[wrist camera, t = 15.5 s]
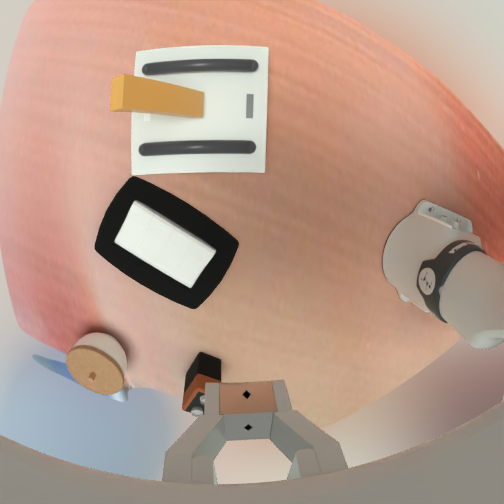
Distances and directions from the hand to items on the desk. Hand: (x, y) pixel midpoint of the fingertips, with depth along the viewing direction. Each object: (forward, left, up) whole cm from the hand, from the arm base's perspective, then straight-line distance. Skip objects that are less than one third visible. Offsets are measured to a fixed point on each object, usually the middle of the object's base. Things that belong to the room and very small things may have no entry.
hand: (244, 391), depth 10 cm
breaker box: (+4, -14, -31) cm, 34 cm away
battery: (+5, +28, -31) cm, 42 cm away
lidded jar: (+23, +24, -31) cm, 46 cm away
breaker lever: (+4, -14, -26) cm, 29 cm away
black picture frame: (+9, +5, -32) cm, 33 cm away
